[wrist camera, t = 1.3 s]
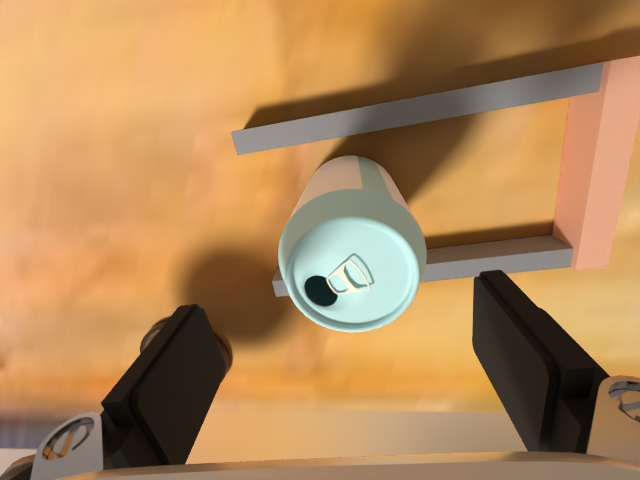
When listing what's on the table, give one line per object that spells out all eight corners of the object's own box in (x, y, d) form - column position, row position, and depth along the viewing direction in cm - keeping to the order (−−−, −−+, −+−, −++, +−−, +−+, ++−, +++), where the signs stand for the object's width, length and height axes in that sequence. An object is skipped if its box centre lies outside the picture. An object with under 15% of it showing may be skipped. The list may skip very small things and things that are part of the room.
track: (609, 60, 19) (653, 53, 16) (577, 248, 24) (607, 267, 21) (242, 129, 23) (228, 132, 20) (282, 281, 28) (274, 300, 25)
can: (373, 253, 26) (391, 363, 15) (293, 223, 25) (252, 315, 14) (411, 174, 23) (470, 238, 12) (323, 139, 22) (298, 173, 11)
